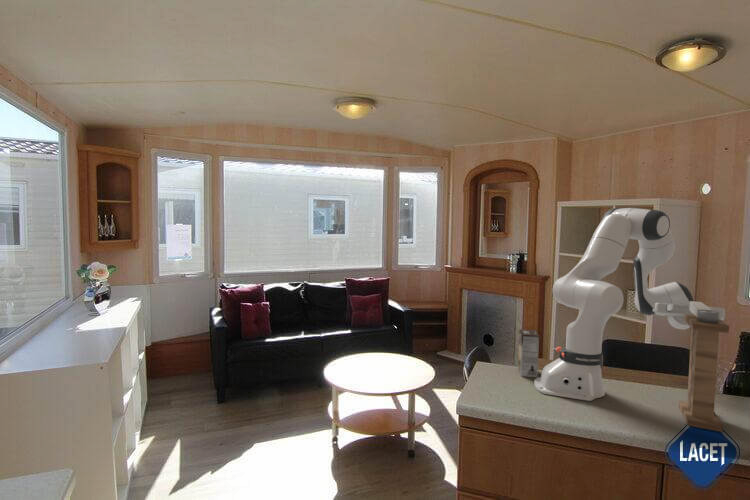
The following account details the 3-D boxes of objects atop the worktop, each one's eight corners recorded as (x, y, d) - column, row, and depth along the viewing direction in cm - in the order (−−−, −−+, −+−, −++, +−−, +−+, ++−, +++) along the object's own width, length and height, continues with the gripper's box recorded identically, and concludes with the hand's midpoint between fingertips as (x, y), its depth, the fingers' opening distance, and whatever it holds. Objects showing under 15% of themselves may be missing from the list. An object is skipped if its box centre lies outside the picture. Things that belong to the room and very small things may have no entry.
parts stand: (722, 431, 120) (729, 325, 118) (687, 425, 123) (693, 322, 121) (710, 412, 132) (716, 316, 130) (679, 407, 136) (684, 313, 134)
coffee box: (517, 368, 171) (518, 328, 170) (534, 369, 169) (535, 329, 168) (520, 376, 162) (521, 334, 161) (538, 377, 160) (539, 335, 159)
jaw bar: (720, 324, 120) (721, 313, 120) (698, 322, 122) (699, 311, 122) (704, 311, 138) (705, 302, 138) (685, 309, 140) (686, 300, 140)
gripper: (651, 302, 163) (655, 296, 152) (719, 308, 154) (728, 301, 142) (651, 319, 162) (655, 313, 150) (719, 326, 152) (729, 320, 140)
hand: (691, 308), depth 146 cm, fingers open, 8 cm apart
